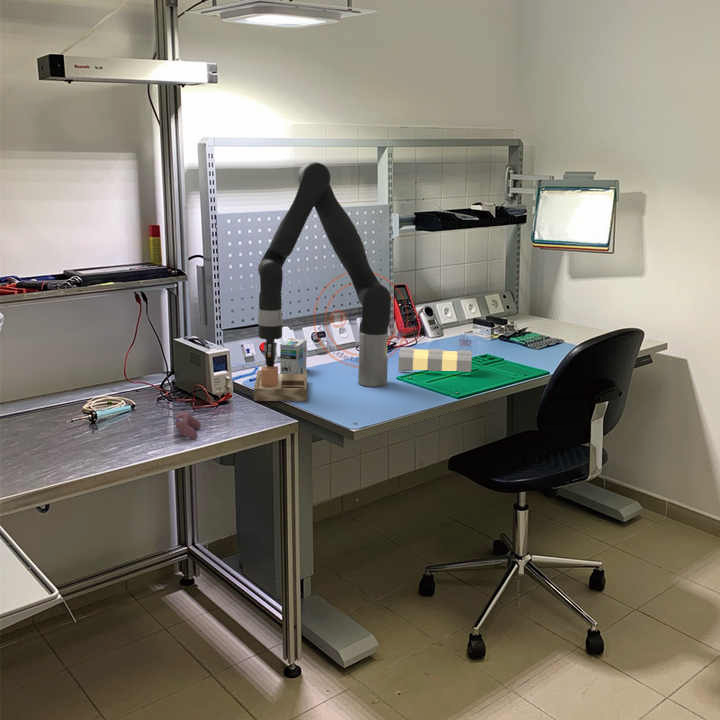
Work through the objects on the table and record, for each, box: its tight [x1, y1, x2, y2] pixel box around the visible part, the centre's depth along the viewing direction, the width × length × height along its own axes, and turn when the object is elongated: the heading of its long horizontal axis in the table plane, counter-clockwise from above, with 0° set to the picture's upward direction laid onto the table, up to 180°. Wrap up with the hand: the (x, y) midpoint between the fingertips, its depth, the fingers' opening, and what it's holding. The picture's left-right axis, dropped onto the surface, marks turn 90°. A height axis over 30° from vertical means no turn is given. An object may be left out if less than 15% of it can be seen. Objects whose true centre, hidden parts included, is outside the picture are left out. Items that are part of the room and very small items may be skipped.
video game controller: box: [174, 410, 202, 440], centre depth 214 cm, size 10×5×7 cm, turn 5°
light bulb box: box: [279, 338, 308, 374], centre depth 277 cm, size 11×7×11 cm, turn 168°
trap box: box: [253, 370, 308, 402], centre depth 255 cm, size 16×22×4 cm
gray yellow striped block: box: [397, 335, 473, 373], centre depth 282 cm, size 25×10×13 cm, turn 83°
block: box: [261, 365, 279, 386], centre depth 253 cm, size 5×5×5 cm
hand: (270, 375), depth 258 cm, fingers closed
